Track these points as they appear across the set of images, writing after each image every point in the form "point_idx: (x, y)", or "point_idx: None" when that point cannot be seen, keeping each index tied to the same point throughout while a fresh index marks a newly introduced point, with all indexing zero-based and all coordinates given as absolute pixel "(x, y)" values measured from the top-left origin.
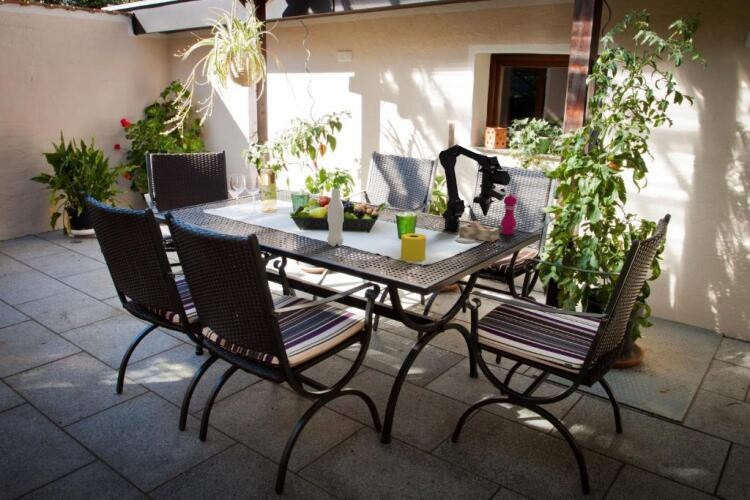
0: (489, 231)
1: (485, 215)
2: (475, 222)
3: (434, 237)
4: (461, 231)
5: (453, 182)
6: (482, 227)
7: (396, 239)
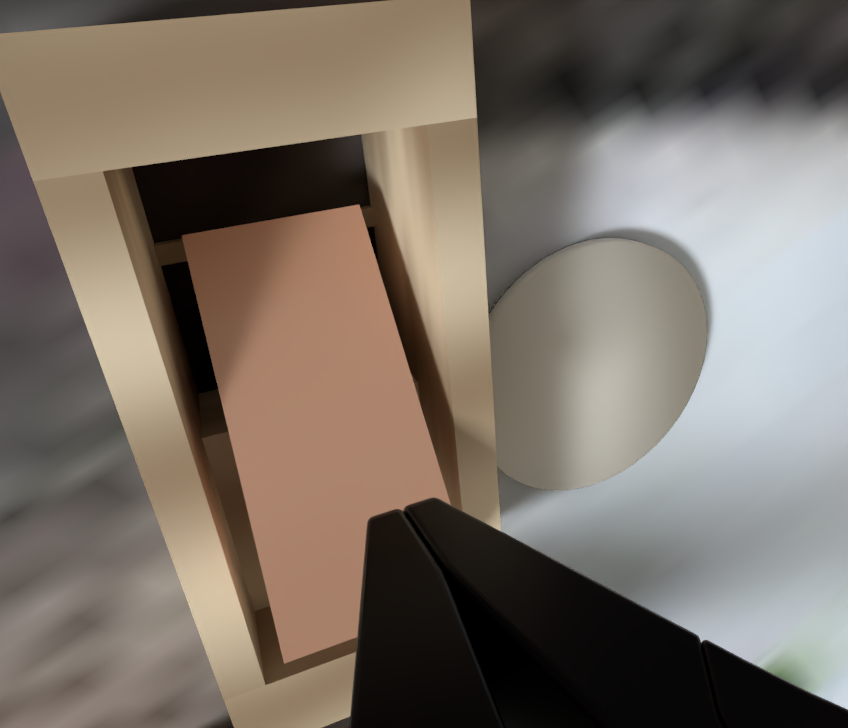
0: (467, 114)
1: (450, 518)
2: None
3: None
4: None
5: None
6: (266, 423)
7: None
